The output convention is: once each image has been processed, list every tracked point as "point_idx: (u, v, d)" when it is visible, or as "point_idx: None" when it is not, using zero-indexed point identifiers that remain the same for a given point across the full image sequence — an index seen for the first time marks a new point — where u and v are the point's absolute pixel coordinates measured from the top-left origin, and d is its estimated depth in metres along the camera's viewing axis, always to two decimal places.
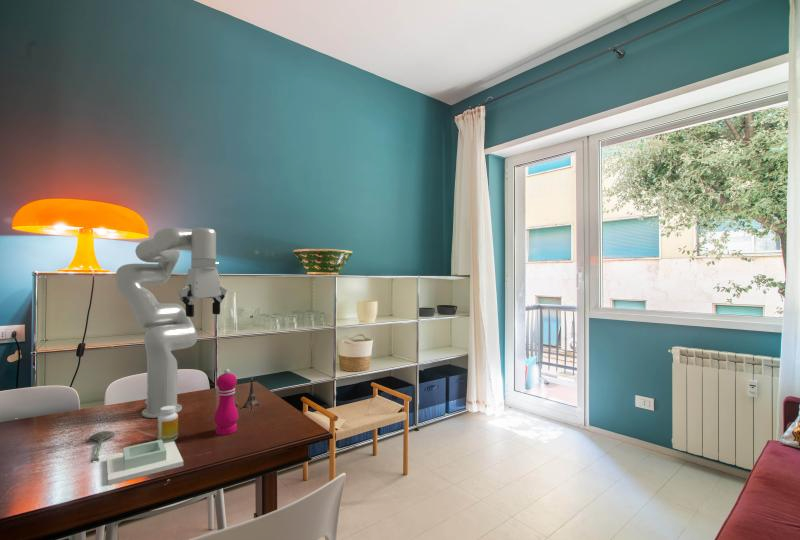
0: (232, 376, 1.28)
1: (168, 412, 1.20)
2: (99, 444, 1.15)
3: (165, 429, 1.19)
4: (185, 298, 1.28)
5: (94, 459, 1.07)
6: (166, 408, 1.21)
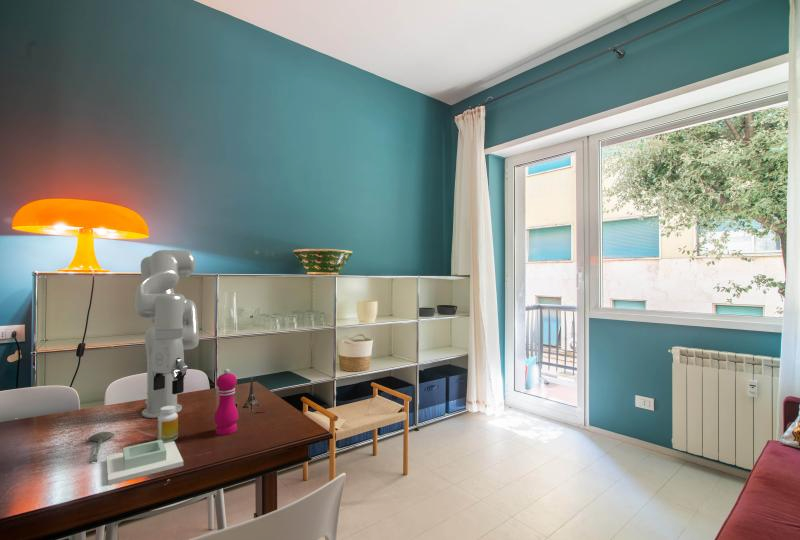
0: (232, 376, 1.28)
1: (168, 412, 1.20)
2: (98, 445, 1.14)
3: (165, 429, 1.19)
4: None
5: (92, 460, 1.06)
6: (166, 408, 1.21)
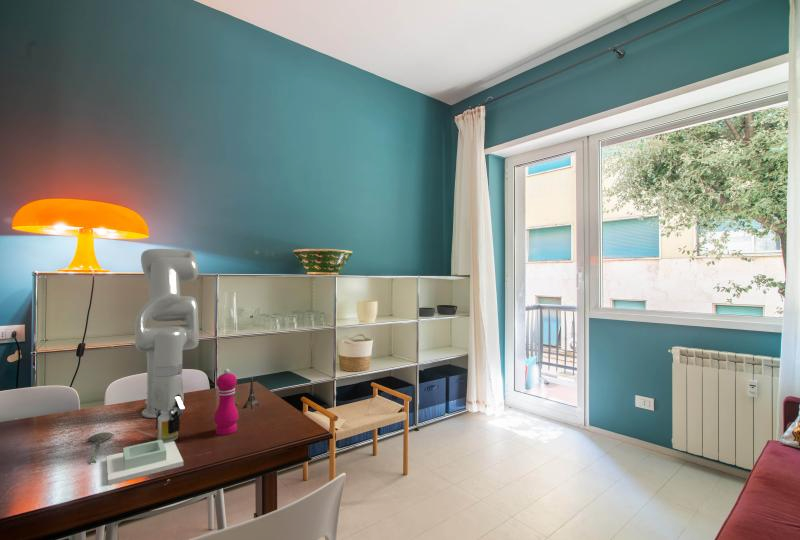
0: (232, 376, 1.28)
1: (168, 412, 1.20)
2: (97, 446, 1.14)
3: (165, 429, 1.19)
4: None
5: (91, 461, 1.06)
6: None
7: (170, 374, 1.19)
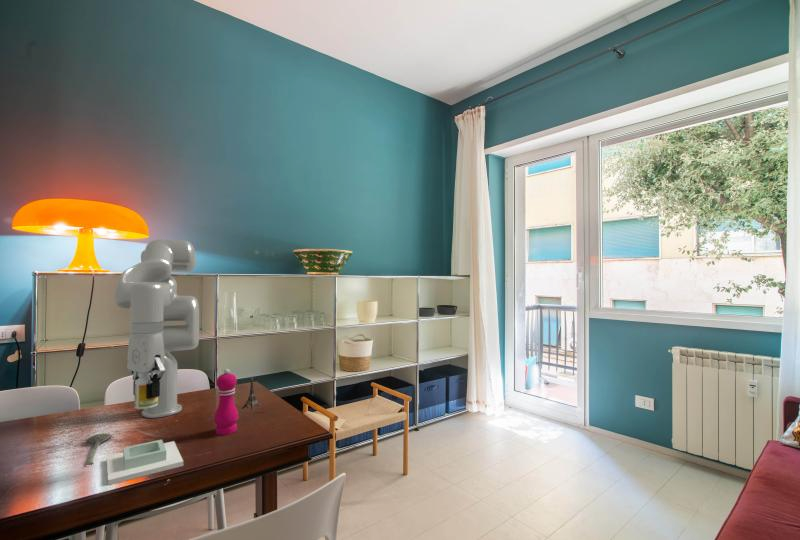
0: (232, 376, 1.28)
1: None
2: (95, 447, 1.13)
3: (143, 394, 1.05)
4: None
5: (88, 463, 1.05)
6: None
7: (149, 331, 1.05)
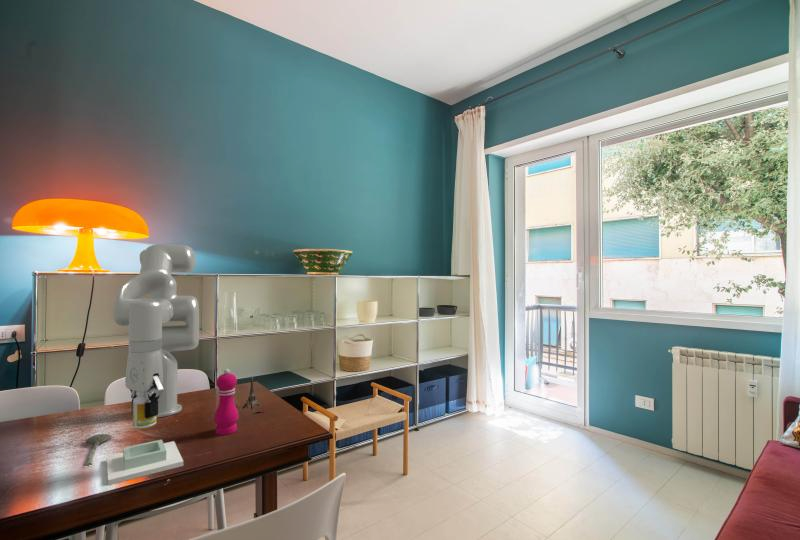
0: (232, 376, 1.28)
1: None
2: (94, 448, 1.12)
3: (141, 413, 1.04)
4: None
5: (87, 464, 1.04)
6: None
7: (147, 350, 1.04)
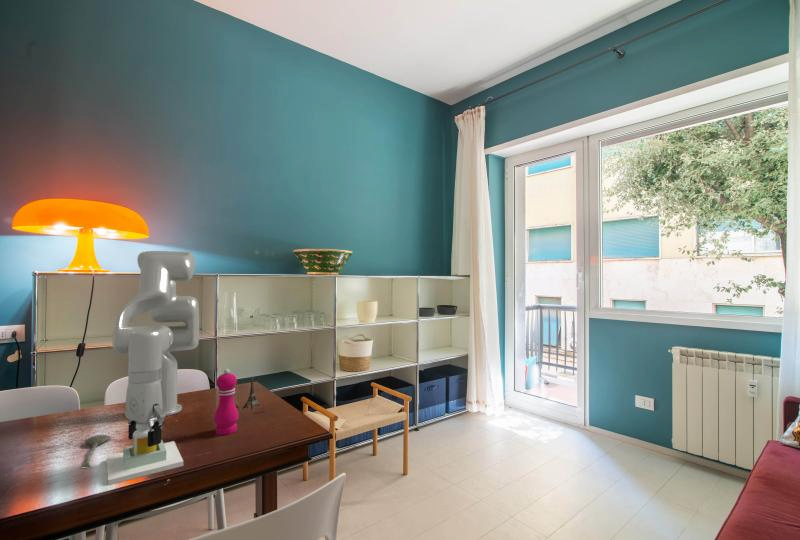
0: (232, 376, 1.28)
1: (145, 427, 1.05)
2: (92, 449, 1.12)
3: (141, 447, 1.04)
4: None
5: (84, 465, 1.03)
6: None
7: (147, 380, 1.04)
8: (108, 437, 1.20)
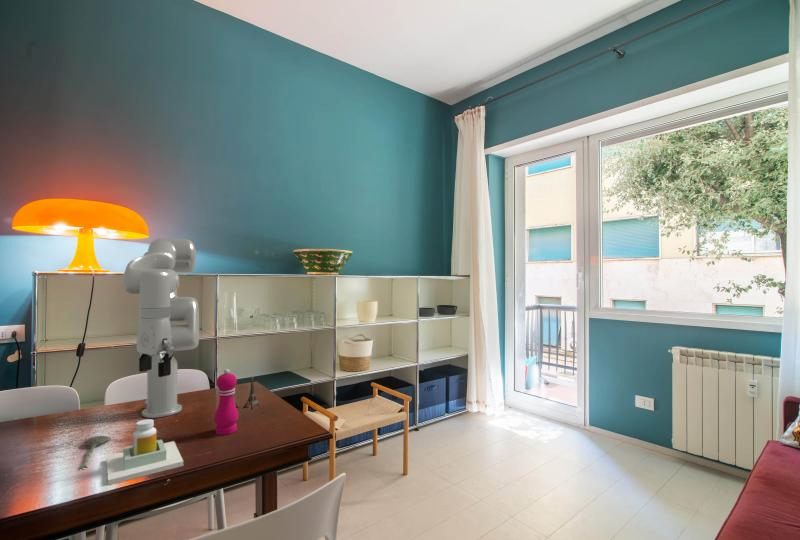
0: (232, 376, 1.28)
1: (145, 427, 1.05)
2: (91, 450, 1.11)
3: (141, 447, 1.04)
4: None
5: (82, 467, 1.03)
6: (143, 422, 1.06)
7: (156, 316, 1.10)
8: (107, 438, 1.19)
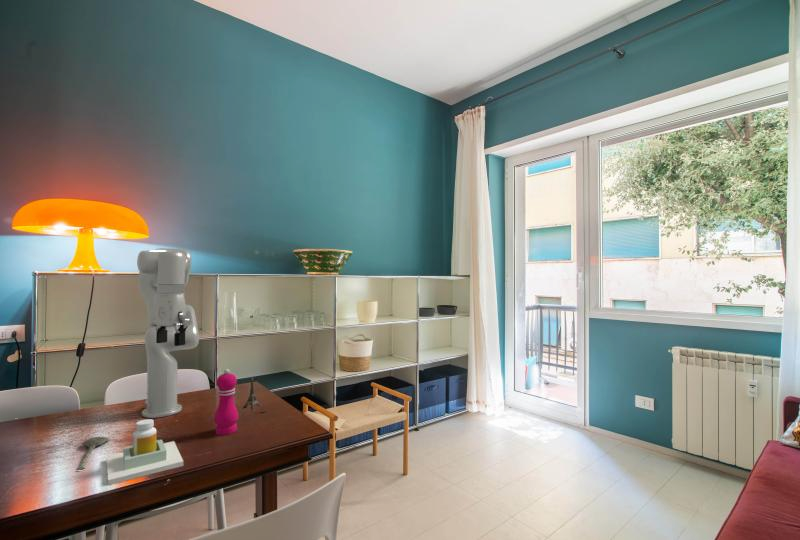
0: (232, 376, 1.28)
1: (145, 427, 1.05)
2: (89, 451, 1.10)
3: (141, 447, 1.04)
4: None
5: (79, 468, 1.02)
6: (143, 422, 1.06)
7: (173, 292, 1.24)
8: (106, 439, 1.18)
